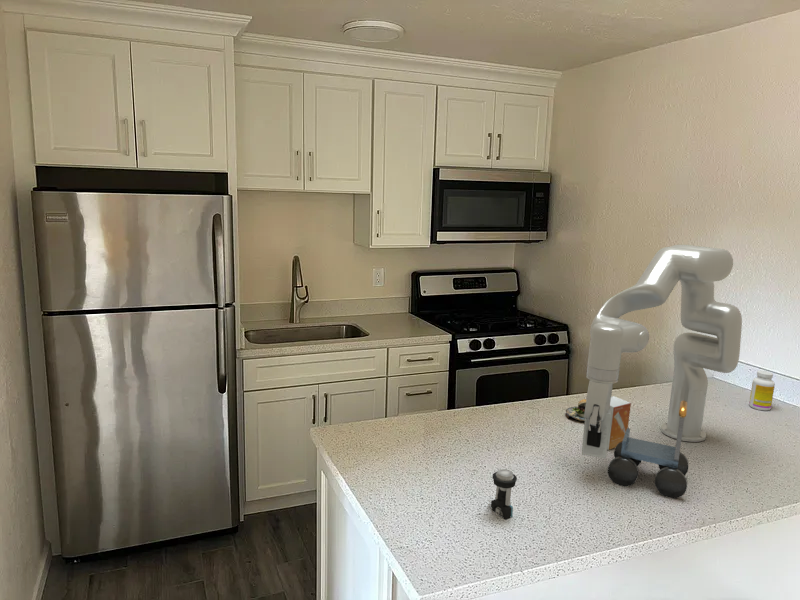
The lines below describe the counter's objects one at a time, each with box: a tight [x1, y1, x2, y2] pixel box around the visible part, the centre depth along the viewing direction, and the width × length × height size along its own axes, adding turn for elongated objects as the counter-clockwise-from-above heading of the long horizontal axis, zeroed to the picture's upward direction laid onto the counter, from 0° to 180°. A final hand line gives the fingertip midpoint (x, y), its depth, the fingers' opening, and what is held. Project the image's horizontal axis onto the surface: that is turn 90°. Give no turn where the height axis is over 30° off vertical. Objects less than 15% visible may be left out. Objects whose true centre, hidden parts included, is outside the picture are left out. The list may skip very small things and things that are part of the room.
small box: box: [607, 395, 632, 451], centre depth 172 cm, size 8×6×13 cm
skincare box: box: [581, 408, 611, 460], centre depth 150 cm, size 6×4×12 cm
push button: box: [487, 468, 518, 521], centre depth 133 cm, size 7×5×10 cm
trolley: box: [607, 401, 689, 499], centre depth 150 cm, size 13×18×21 cm
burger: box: [564, 398, 587, 422], centre depth 192 cm, size 12×12×8 cm
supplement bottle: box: [748, 370, 775, 412], centre depth 207 cm, size 7×7×13 cm
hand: (595, 441), depth 151 cm, fingers closed on skincare box, 4 cm apart
